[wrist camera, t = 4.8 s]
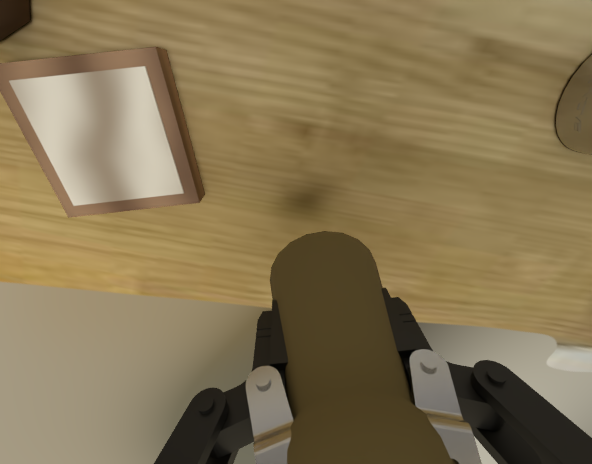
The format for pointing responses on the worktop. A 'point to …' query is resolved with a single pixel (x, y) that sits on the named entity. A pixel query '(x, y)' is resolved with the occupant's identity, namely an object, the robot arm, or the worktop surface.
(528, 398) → the robot arm
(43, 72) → the picture frame
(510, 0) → the worktop surface
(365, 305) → the brown rounded piece
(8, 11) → the beer bottle
